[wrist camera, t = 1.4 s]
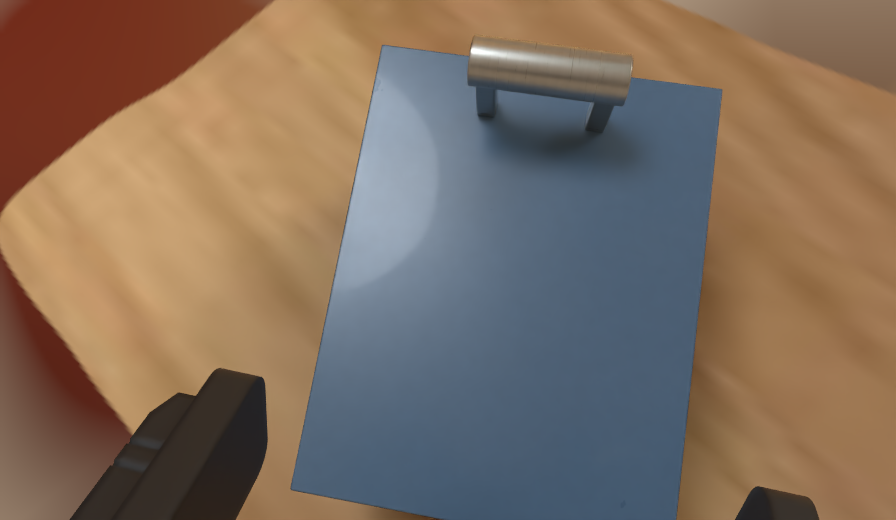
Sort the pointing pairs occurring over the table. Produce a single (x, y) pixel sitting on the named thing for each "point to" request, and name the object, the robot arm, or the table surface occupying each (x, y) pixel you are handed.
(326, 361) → the freezer lid
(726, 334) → the table surface
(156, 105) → the table surface
